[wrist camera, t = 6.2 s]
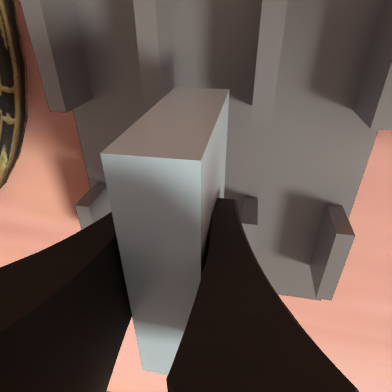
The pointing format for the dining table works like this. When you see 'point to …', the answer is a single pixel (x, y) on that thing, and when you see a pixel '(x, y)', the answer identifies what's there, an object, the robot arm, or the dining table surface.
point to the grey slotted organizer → (237, 106)
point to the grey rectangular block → (167, 211)
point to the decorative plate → (11, 90)
